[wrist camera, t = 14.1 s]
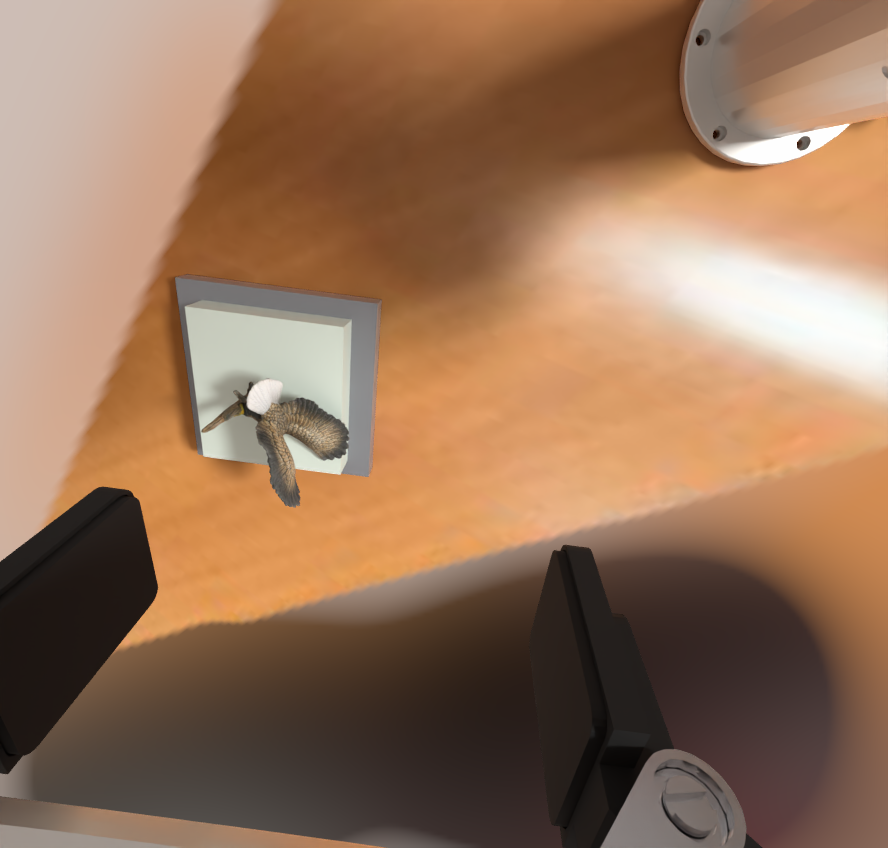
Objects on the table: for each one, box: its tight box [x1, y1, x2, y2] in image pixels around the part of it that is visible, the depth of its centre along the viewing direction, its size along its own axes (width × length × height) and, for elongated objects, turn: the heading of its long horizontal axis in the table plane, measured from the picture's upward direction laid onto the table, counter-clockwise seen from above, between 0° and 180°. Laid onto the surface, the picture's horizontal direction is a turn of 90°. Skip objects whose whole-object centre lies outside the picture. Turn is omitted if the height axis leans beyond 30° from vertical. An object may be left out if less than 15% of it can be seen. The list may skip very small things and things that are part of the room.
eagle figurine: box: [201, 378, 350, 507], centre depth 36 cm, size 8×7×9 cm
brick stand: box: [175, 274, 382, 477], centre depth 40 cm, size 16×16×5 cm
